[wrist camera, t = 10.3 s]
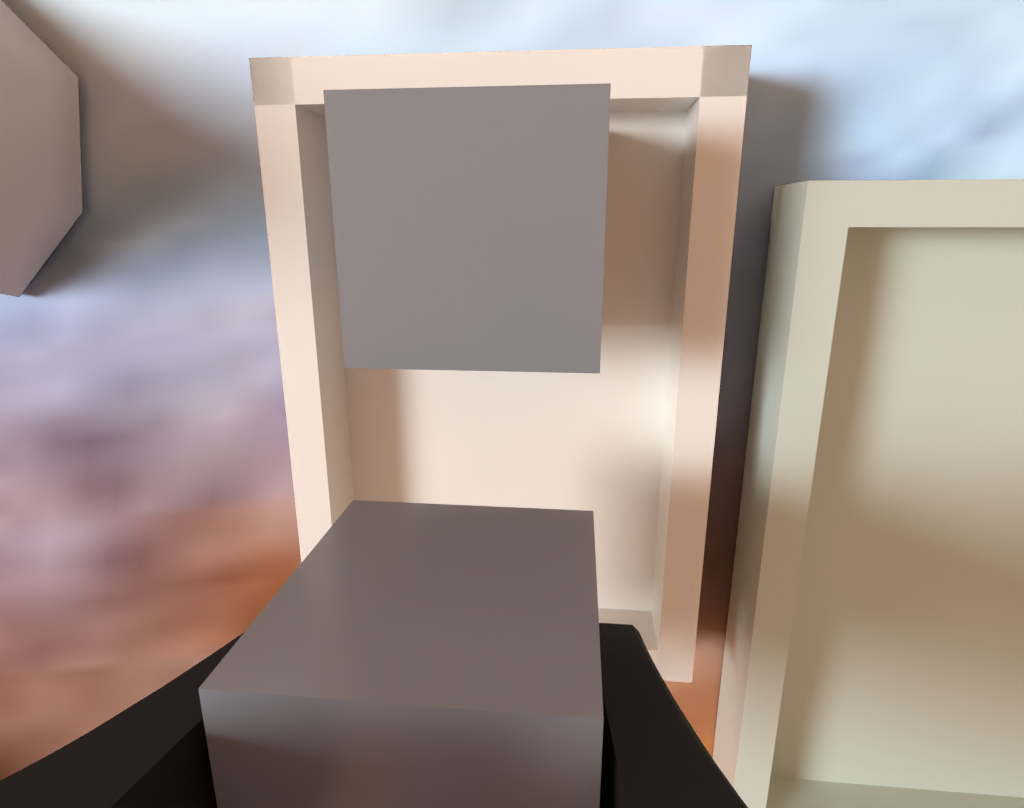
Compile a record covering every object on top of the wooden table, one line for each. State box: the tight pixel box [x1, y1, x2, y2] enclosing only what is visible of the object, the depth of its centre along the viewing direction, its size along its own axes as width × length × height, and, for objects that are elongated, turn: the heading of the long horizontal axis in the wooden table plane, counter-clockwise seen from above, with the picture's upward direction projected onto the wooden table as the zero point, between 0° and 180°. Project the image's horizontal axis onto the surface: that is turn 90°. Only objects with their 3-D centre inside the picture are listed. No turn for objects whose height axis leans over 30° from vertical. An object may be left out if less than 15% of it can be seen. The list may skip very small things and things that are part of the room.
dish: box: [249, 45, 752, 683], centre depth 14 cm, size 13×9×2 cm
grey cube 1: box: [323, 83, 611, 373], centre depth 11 cm, size 4×4×4 cm
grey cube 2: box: [198, 500, 604, 808], centre depth 9 cm, size 4×4×4 cm
